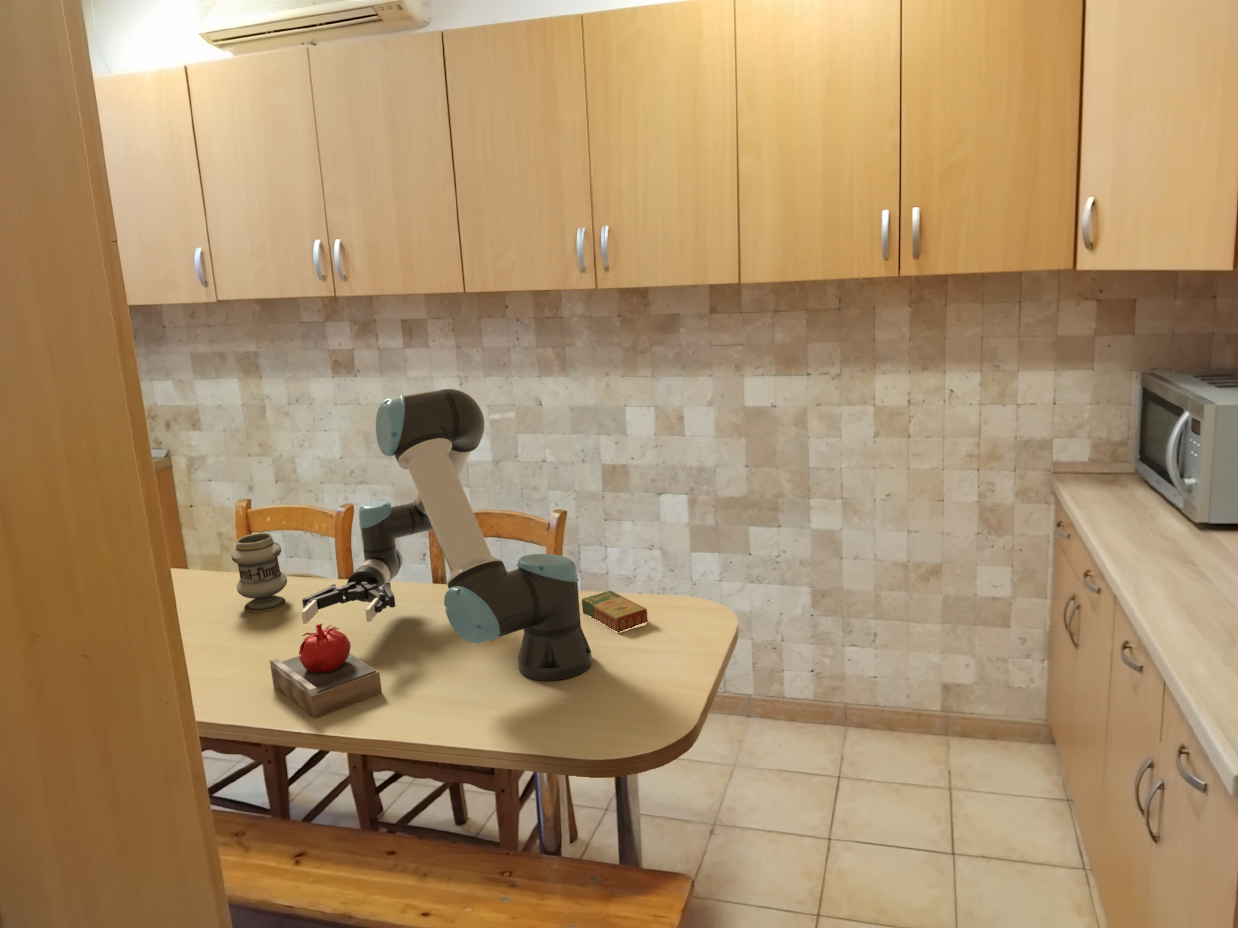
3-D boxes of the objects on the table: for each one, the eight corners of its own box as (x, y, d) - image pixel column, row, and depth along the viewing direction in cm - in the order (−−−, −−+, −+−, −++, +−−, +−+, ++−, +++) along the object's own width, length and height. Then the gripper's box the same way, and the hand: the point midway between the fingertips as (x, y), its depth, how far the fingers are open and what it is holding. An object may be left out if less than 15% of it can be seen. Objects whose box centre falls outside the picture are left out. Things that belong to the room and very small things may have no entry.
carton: (617, 635, 208) (615, 617, 207) (581, 614, 222) (580, 597, 221) (648, 625, 212) (647, 607, 211) (612, 605, 226) (610, 588, 225)
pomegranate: (362, 657, 192) (356, 615, 190) (332, 679, 183) (325, 634, 181) (321, 653, 196) (315, 611, 194) (290, 674, 186) (283, 630, 184)
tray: (381, 692, 187) (378, 665, 186) (314, 718, 178) (310, 689, 177) (337, 663, 202) (334, 638, 200) (273, 686, 193) (269, 659, 192)
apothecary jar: (230, 608, 239) (219, 540, 235) (272, 593, 248) (262, 527, 244) (257, 617, 232) (246, 547, 228) (299, 601, 241) (289, 533, 237)
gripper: (423, 594, 216) (396, 631, 196) (317, 598, 218) (280, 635, 197) (420, 563, 215) (392, 597, 194) (313, 567, 216) (274, 601, 196)
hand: (335, 616), depth 196 cm, fingers open, 13 cm apart
